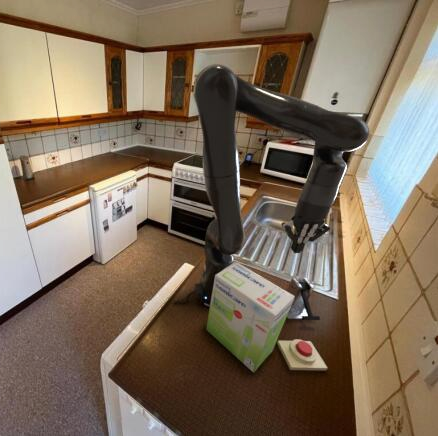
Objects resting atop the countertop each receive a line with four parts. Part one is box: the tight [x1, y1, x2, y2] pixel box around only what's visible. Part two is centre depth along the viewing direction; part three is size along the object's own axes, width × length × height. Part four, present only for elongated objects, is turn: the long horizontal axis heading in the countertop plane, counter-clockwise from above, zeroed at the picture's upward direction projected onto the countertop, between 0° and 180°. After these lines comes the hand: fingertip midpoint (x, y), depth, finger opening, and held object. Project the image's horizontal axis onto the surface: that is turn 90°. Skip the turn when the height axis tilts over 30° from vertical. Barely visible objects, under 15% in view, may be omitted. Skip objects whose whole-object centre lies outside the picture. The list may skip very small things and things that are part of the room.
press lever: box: [298, 280, 321, 321], centre depth 78 cm, size 12×5×2 cm
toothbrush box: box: [205, 261, 295, 374], centre depth 69 cm, size 18×10×24 cm, turn 37°
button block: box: [276, 339, 328, 371], centre depth 69 cm, size 10×8×4 cm
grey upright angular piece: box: [286, 277, 315, 320], centre depth 83 cm, size 10×8×13 cm
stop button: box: [296, 340, 312, 357], centre depth 68 cm, size 4×4×2 cm
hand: (295, 251), depth 71 cm, fingers closed
